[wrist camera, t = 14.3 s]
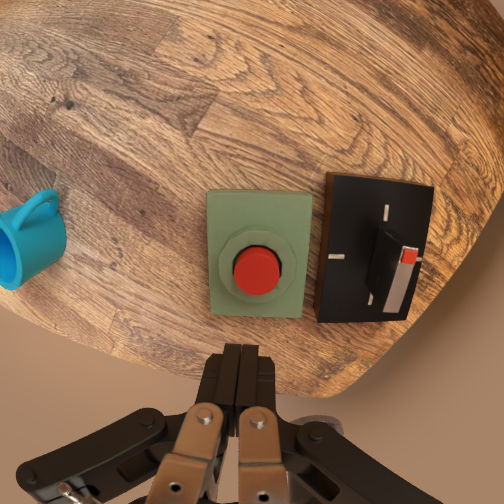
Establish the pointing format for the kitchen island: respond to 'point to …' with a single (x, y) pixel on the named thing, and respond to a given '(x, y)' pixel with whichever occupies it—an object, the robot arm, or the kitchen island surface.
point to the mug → (30, 239)
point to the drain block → (258, 235)
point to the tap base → (365, 242)
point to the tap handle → (390, 269)
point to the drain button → (256, 271)
